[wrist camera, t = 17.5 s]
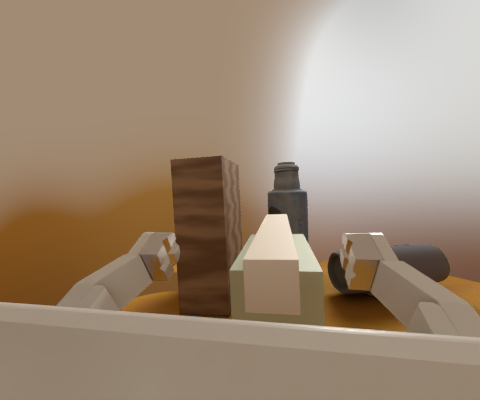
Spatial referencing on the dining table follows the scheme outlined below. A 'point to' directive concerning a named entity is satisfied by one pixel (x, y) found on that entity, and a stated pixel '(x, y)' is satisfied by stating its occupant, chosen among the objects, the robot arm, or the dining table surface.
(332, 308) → the dining table surface
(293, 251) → the batten
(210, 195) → the tall stand
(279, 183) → the bottle
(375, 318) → the dining table surface
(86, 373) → the robot arm
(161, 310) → the dining table surface
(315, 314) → the low block
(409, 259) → the bluetooth speaker
